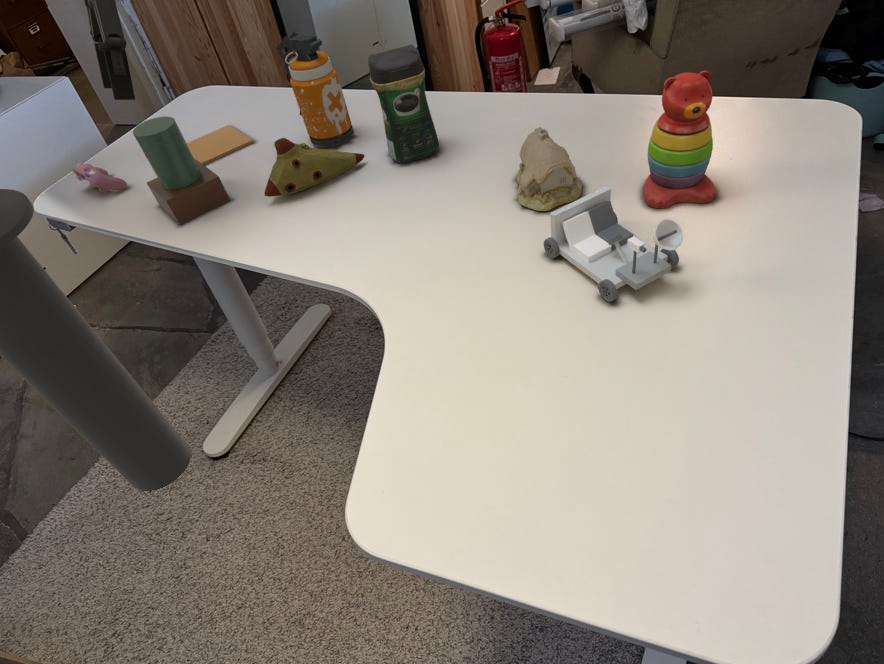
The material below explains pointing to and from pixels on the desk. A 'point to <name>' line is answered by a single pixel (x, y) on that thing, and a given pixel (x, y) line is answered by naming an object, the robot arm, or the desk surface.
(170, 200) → the riser
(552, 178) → the ceramic model
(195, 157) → the cork mat
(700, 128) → the stacking bear
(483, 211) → the desk surface
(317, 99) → the canister
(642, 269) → the toy car
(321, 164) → the ocarina
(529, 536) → the desk surface
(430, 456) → the desk surface
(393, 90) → the coffee jar
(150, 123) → the green cylinder
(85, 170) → the pink animal figurine
